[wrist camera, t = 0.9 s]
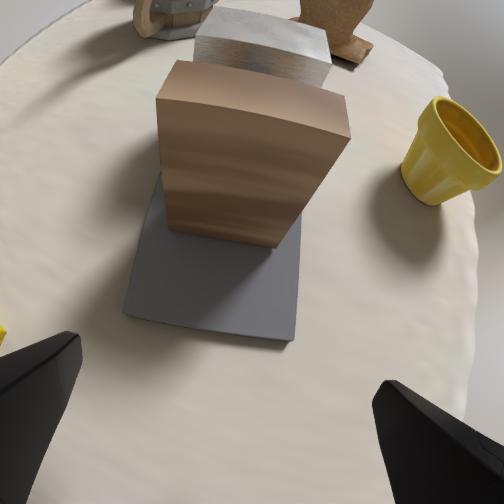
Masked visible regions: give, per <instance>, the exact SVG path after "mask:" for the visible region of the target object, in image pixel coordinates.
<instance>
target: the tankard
mask: <svg viewBox="0 0 504 504" xmlns="http://www.w3.org/2000/svg"><path fill="white" fill-rule="evenodd" d="M218 1H219V0H136V1H135V6H134V10H133V20H134V27H135V29H136V30H137V32H138V34H139V35H140V37H145V38H147V37H152V38H158V39H164V40H176V39H182V38H189V37H195V35H196V33H197V31H198V30H199V28H200V27H201V25H202V24H203V22H204V21H205V19H206V18H207V16H208V15H209V13H210V12H211V10H212V9H213V5H214V4H215V3H217V2H218Z"/></svg>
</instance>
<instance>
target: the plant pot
mask: <svg viewBox="0 0 504 504" xmlns="http://www.w3.org/2000/svg"><path fill="white" fill-rule="evenodd" d="M501 171H502V161H501V157H500V154H499V152H498V150H497V148H496V146H495V144H494V142H493V141H492V139H491V137H490V136H489V134H488V133H487V132H486V130H485V129H484V128H483V126H482V125H481V124H480V123H479V122H478V121H477V120H476V119H475V118H474V117H473V116H472V115H471V114H470V113H469V112H468V111H467V110H466V109H464V108H463V107H462V106H460V105H459V104H457V103H456V102H454V101H452V100H451V99H448V98H446V97H441V96H438V97H435V98H433V99H432V101H431V102H430V103H429V105H428V106H427V107H426V108H425V110H424V111H423V113H422V114H421V116H420V117H419V119H418V132H417V134H416V136H415V138H414V140H413V142H412V144H411V146H410V149H409V151H408V153H407V155H406V157H405V158H404V160H403V162H402V165H401V173H402V177H403V180H404V182H405V184H406V186H407V187H408V189H409V190H410V191H411V192H412V194H413V195H414V196H415V197H416V198H417V199H419V200H420V201H422V202H423V203H425V204H427V205H432V206H435V205H438V204H440V203H443V202H445V201H447V200H449V199H451V198H453V197H455V196H457V195H460V194H462V193H464V192H466V191H468V190H475V191H477V190H481V189H483V188H484V187H486V186H487V185H488V184H490V183H491V182H492V181H493V180H494V179H496V178H497V177H498V176H499V175H500V173H501Z"/></svg>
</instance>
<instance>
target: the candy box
mask: <svg viewBox="0 0 504 504" xmlns="http://www.w3.org/2000/svg"><path fill="white" fill-rule="evenodd" d="M5 334H6V330H5V329H4V328H3V327H2V326H1V325H0V345H1V343H2V340H3V338H4V336H5Z"/></svg>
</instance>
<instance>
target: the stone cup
mask: <svg viewBox="0 0 504 504" xmlns="http://www.w3.org/2000/svg"><path fill="white" fill-rule="evenodd" d="M373 1H374V0H300V6H301V15H300V17H294V18H291V19H288V20H291V21H295V22H299V23H303V24H306V25H310V26H313V27H316V28H320V29H323V30H325V32H326V37H327V41H328V46H329V51H330V53H331V54H333V55H336V56H339V57H341V58H344V59H347V60H349V61H352V62H355V63H357V64H360V63H361V61H362V60H363V59H364V58H365V57H366V56H367V55H368V54H369V52H370V51H371V50H372V48H373V44H372V43H370V42H367V41H365V40H363V39H361V38H359V37H357V36H355V35H353V31H354V29H355V28H356V26H357V25H358V24H359V23H360V21H361V20H362V19H363V18H364V16H365V15H366V14H367V12H368V11H369V10H370V8H371V7H372V4H373Z"/></svg>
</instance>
